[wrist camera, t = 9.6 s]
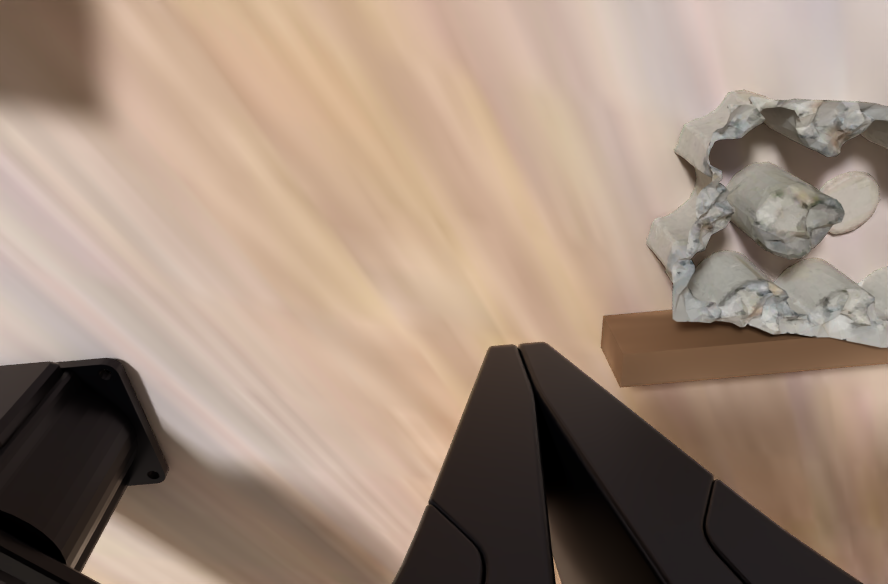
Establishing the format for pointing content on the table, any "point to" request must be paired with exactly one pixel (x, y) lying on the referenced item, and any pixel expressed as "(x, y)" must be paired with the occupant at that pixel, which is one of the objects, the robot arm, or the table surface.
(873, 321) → the egg carton
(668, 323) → the frame
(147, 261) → the table surface
